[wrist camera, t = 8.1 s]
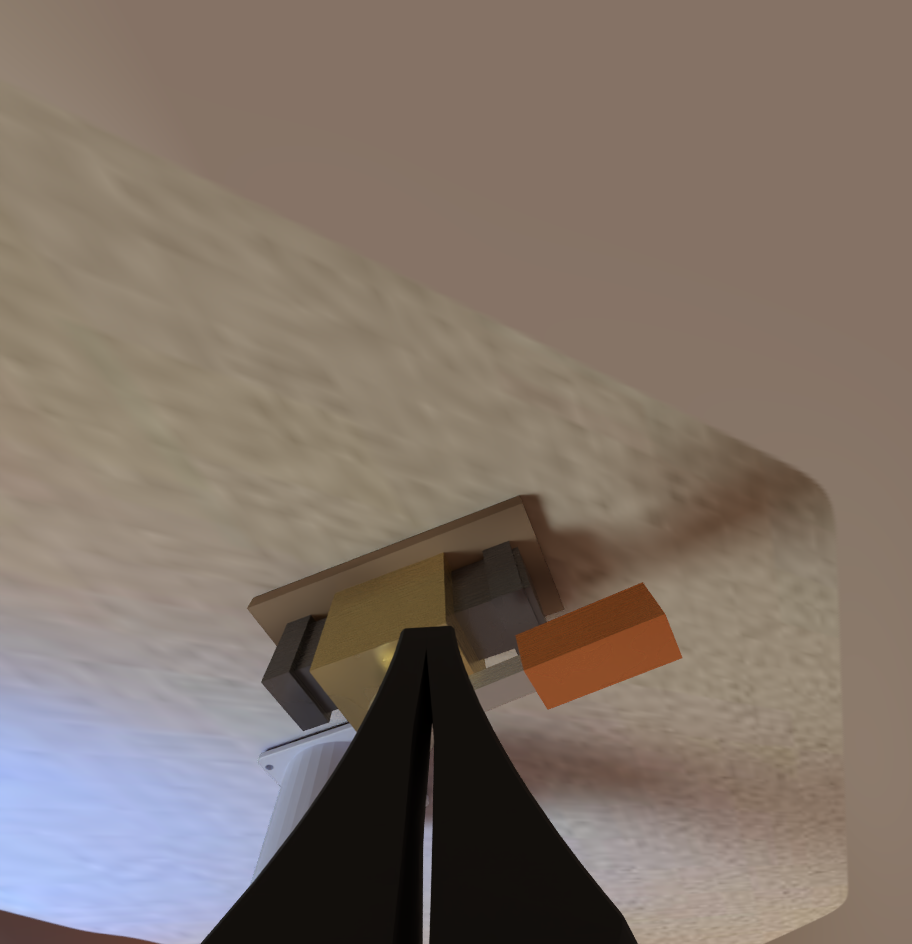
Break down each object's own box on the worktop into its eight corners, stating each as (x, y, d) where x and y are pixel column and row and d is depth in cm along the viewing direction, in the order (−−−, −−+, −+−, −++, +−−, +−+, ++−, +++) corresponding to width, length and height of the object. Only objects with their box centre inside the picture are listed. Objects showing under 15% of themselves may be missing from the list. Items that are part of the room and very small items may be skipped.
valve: (541, 602, 22) (571, 691, 17) (323, 679, 24) (294, 781, 19) (509, 527, 20) (533, 603, 15) (274, 616, 22) (228, 711, 17)
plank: (560, 599, 23) (564, 609, 23) (319, 683, 25) (316, 695, 24) (519, 495, 21) (522, 503, 20) (253, 597, 22) (247, 608, 22)
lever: (390, 735, 18) (386, 775, 16) (356, 697, 17) (349, 736, 15) (660, 627, 16) (683, 661, 14) (641, 578, 15) (663, 609, 14)
